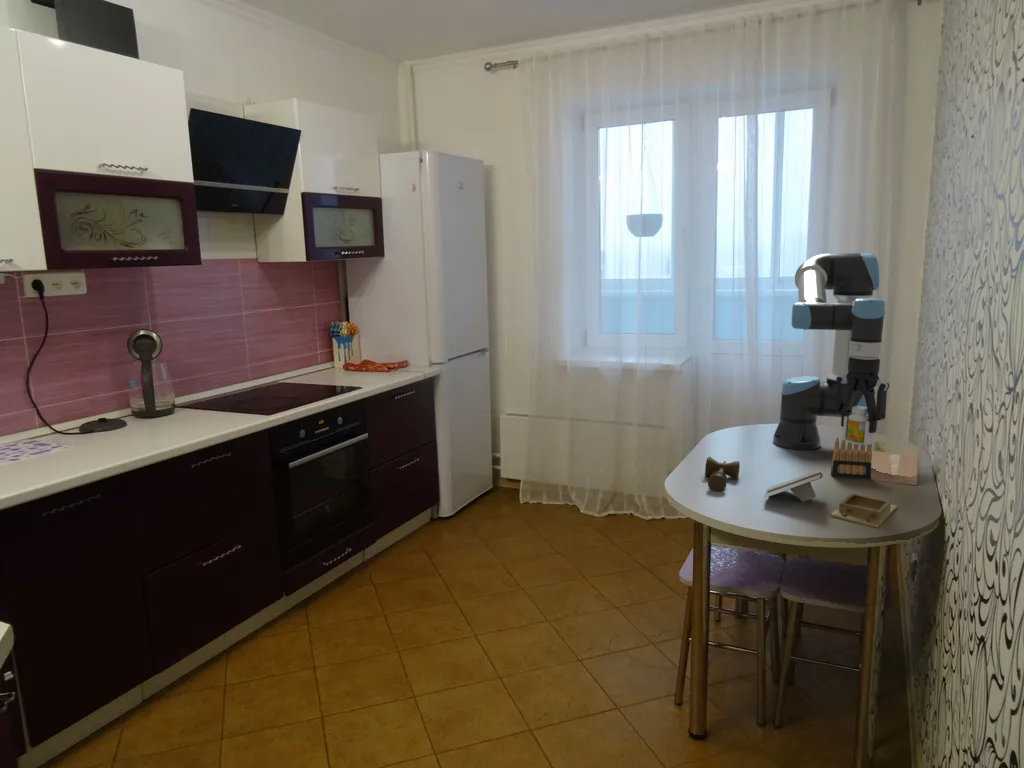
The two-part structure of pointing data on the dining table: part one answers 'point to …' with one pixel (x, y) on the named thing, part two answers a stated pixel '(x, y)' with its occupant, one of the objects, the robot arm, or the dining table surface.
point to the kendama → (720, 473)
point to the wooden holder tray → (864, 510)
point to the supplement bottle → (857, 425)
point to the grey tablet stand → (797, 486)
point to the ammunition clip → (851, 461)
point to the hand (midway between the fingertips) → (857, 441)
